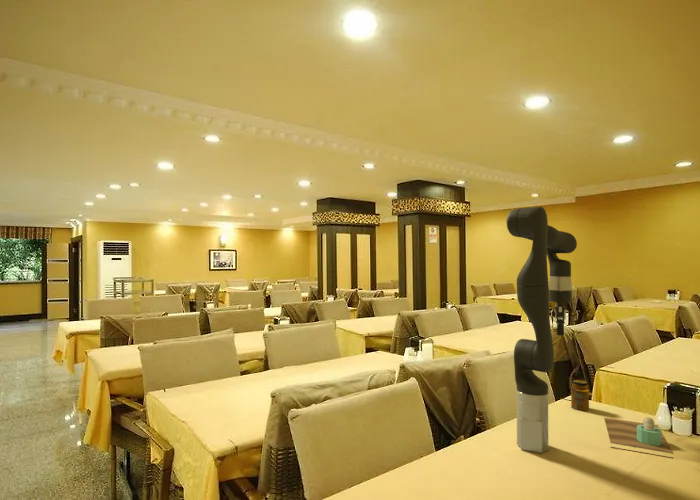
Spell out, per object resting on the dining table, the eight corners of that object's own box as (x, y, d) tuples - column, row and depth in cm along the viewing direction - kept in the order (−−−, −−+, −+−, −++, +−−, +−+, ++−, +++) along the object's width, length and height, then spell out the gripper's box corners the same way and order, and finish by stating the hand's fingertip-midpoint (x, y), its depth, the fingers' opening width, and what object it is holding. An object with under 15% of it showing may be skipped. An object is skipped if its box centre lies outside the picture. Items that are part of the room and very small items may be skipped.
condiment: (593, 413, 163) (593, 382, 163) (582, 418, 158) (581, 385, 158) (575, 407, 169) (574, 377, 169) (563, 412, 164) (563, 380, 164)
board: (673, 458, 126) (673, 428, 126) (610, 447, 133) (610, 419, 133) (657, 429, 147) (657, 403, 147) (604, 421, 154) (603, 396, 155)
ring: (663, 447, 130) (662, 434, 130) (638, 443, 133) (638, 430, 133) (659, 439, 136) (658, 426, 136) (635, 435, 138) (635, 423, 138)
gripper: (549, 287, 163) (549, 329, 162) (548, 289, 150) (548, 335, 149) (571, 288, 159) (571, 331, 159) (572, 290, 146) (572, 337, 146)
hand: (560, 333), depth 154 cm, fingers open, 8 cm apart
